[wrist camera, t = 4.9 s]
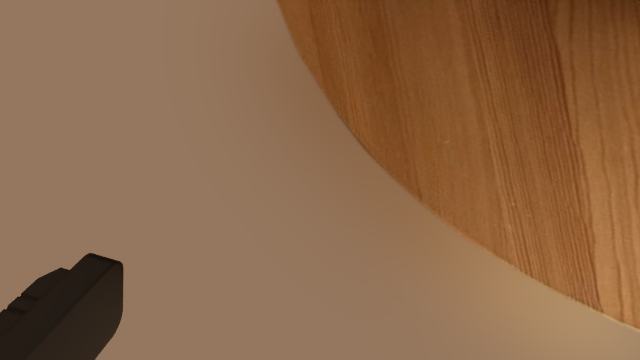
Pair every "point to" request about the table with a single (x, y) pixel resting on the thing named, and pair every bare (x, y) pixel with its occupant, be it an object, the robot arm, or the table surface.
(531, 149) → the table surface
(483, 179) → the table surface
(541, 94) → the table surface
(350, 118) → the table surface
